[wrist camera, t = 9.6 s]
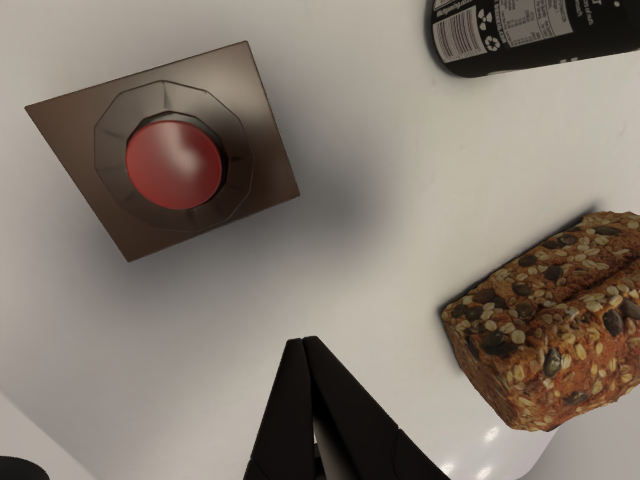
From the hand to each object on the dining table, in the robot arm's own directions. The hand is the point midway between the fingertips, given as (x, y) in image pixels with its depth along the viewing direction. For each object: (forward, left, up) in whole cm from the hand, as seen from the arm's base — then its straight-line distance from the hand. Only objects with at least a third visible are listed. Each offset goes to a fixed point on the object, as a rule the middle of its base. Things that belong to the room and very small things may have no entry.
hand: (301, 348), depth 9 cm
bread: (+21, -17, -13) cm, 30 cm away
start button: (-2, +5, -9) cm, 10 cm away
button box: (-2, +5, -12) cm, 14 cm away
